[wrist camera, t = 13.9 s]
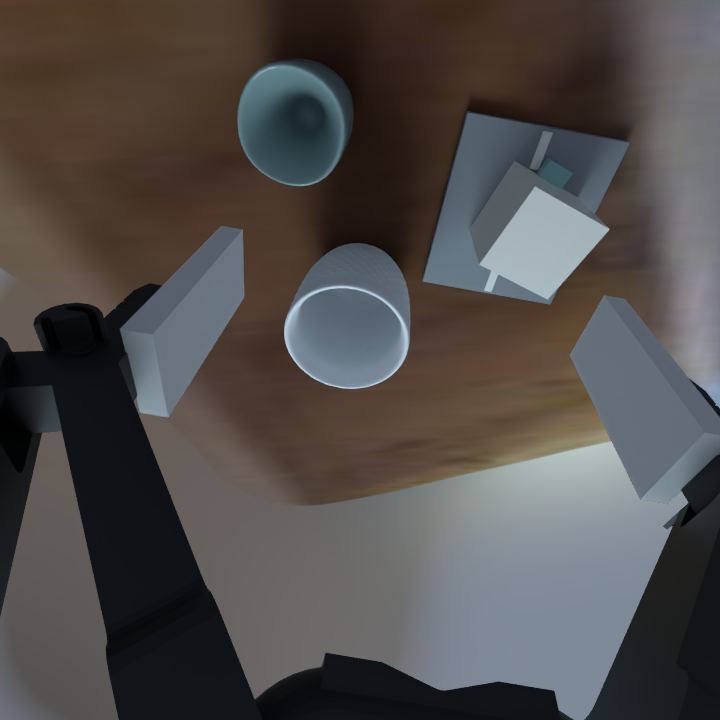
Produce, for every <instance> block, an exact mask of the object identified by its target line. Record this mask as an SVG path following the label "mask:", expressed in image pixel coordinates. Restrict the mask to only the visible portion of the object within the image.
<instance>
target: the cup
mask: <svg viewBox="0 0 720 720" xmlns="http://www.w3.org/2000/svg"><path fill="white" fill-rule="evenodd" d="M353 123H354V106H353V99H352V96H351V93H350V90H349V88H348V87H347V85H346V83H345V82H344V80H343V79H342V78H341V77H340V76H339V75H338V74H337V73H336V72H335V71H333V70H332V69H331V68H330V67H328V66H326V65H324V64H322V63H320V62H317V61H313V60H310V59H302V58H291V59H285V60H279V61H274V62H271V63H269V64H267V65H265V66H263V67H261V68H259V69H258V70H257V71H256V72H255V73H254V74H253V75H252V76H251V77H250V79H249V80H248V82H247V83H246V85H245V87H244V89H243V92H242V94H241V97H240V101H239V106H238V117H237V124H238V134H239V137H240V141H241V145H242V147H243V149H244V151H245V153H246V155H247V157H248V158H249V160H250V161H251V162H252V164H253V165H254V166H255V167H256V168H257V169H259V170H260V171H261V172H262V173H263V174H265V175H266V176H268V177H269V178H271V179H273V180H276V181H278V182H280V183H283V184H287V185H292V186H307V185H312V184H314V183H317V182H320V181H321V180H322V179H324V178H325V177H327V176H328V175H329V174H330V173H331V171H332V170H333V169H334V168H335V167H336V165H337V164H338V162H339V160H340V158H341V157H342V155H343V153H344V151H345V149H346V147H347V145H348V142H349V139H350V137H351V133H352V128H353Z"/></svg>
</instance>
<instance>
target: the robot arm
mask: <svg viewBox="0 0 720 720" xmlns="http://www.w3.org/2000/svg"><path fill="white" fill-rule="evenodd" d="M243 298H244V265H243V230H241V229H236V228H230V227H225V226H221V227H220V228H219V229H218V230H217V231H216V232H215V233H214V234H213V235H212V236H211V237H210V238H209V239H208V240H207V241H206V242H205V243H204V244H203V245H202V246H201V247H200V248H199V249H198V250H197V251H196V252H195V253H194V254H193V255H192V256H191V257H190V258H189V259H188V260H187V261H186V262H185V263H184V264H183V265H182V266H181V267H180V268H179V269H178V270H177V271H176V272H175V273H174V274H173V275H172V276H171V277H170V278H169V279H168V281H167V282H166V283H165V284H164V285H163V286H161V285H156V284H150V283H149V284H147V285H145V286H143V287H140V288H138V289H136V290H134V291H133V292H132V293H131V294H130V295H129V296H127V297H126V298H125V299H124V302H121V303H120V304H119V305H118V306H117V307H116V309H113V310H112V311H111V312H110V313H109V314H108V315H107V316H106V317H105V318H103V314H102V312H101V311H100V310H99V309H98V308H97V307H95V306H92V305H90V304H82V303H70V304H62V305H58V306H54V307H51V308H49V309H47V310H45V311H43V312H41V313H40V314H39V315H38V316H37V317H36V318H35V321H34V327H35V330H36V333H37V335H38V338H39V340H40V343H41V345H42V348H43V350H44V351H30V352H29V351H26V352H12V351H11V349H10V347H9V345H8V343H7V342H6V341H5V340H4V339H3V338H2V337H0V614H1V611H2V606H3V602H4V597H5V593H6V588H7V584H8V580H9V575H10V571H11V567H12V562H13V558H14V553H15V549H16V545H17V540H18V536H19V531H20V527H21V523H22V518H23V514H24V509H25V505H26V501H27V496H28V492H29V487H30V483H31V479H32V474H33V470H34V465H35V461H36V457H37V452H38V448H39V443H40V439H41V435H42V433H43V432H56V431H62V433H63V438H64V442H65V447H66V451H67V456H68V460H69V465H70V470H71V474H72V479H73V483H74V488H75V492H76V497H77V501H78V506H79V510H80V515H81V519H82V523H83V528H84V533H85V537H86V542H87V547H88V551H89V556H90V560H91V564H92V570H93V574H94V578H95V583H96V588H97V592H98V597H99V600H100V606H101V610H102V615H103V619H104V624H105V628H106V634H107V646H106V657H107V664H108V670H109V676H110V680H111V685H112V689H113V694H114V699H115V704H116V709H117V713H118V718H119V720H573V719H572V718H570V717H568V716H567V715H565V714H564V713H562V712H561V711H559V710H558V705H557V701H556V696H555V692H554V691H552V690H546V689H539V688H534V687H528V686H522V685H516V684H510V683H504V682H494V683H488V684H482V685H476V686H470V687H464V688H459V689H453V690H446V691H443V690H438V689H435V688H433V687H431V686H429V685H427V684H425V683H423V682H421V681H419V680H417V679H415V678H413V677H411V676H409V675H407V674H405V673H403V672H401V671H399V670H397V669H395V668H393V667H391V666H389V665H386V664H384V663H382V662H378V661H371V660H366V659H360V658H354V657H348V656H341V655H336V654H330V653H326V654H325V657H324V660H323V664H322V667H319V668H313V669H308V670H304V671H302V672H299V673H295V674H293V675H291V676H289V677H287V678H285V679H283V680H280V681H279V682H277V683H276V684H274V685H273V686H271V687H270V688H268V689H267V690H266V691H264V692H263V693H262V694H261V695H260V696H259V697H257V698H256V699H254V697H253V694H252V692H251V689H250V687H249V684H248V682H247V679H246V677H245V674H244V672H243V669H242V667H241V664H240V662H239V659H238V657H237V654H236V651H235V649H234V647H233V644H232V642H231V639H230V636H229V634H228V631H227V629H226V627H225V624H224V621H223V619H222V616H221V614H220V611H219V609H218V607H217V604H216V602H215V599H214V597H213V595H212V594H211V592H210V591H209V590H208V589H207V587H206V585H205V583H204V580H203V578H202V576H201V573H200V571H199V568H198V565H197V563H196V560H195V558H194V555H193V553H192V550H191V547H190V545H189V542H188V540H187V537H186V535H185V532H184V529H183V527H182V524H181V522H180V520H179V517H178V514H177V512H176V509H175V507H174V504H173V501H172V499H171V496H170V494H169V491H168V489H167V486H166V484H165V481H164V478H163V476H162V473H161V471H160V468H159V466H158V463H157V461H156V458H155V455H154V453H153V450H152V448H151V445H150V443H149V440H148V437H147V435H146V432H145V430H144V427H143V425H142V422H141V420H140V417H139V414H138V412H137V409H136V407H135V405H134V402H133V401H134V400H135V398H136V397H137V402H138V406H139V410H140V412H141V413H146V414H152V415H157V416H163V417H169V415H170V414H171V412H172V411H173V409H174V408H175V406H176V404H177V403H178V401H179V400H180V398H181V396H182V395H183V393H184V392H185V390H186V389H187V387H188V385H189V384H190V382H191V381H192V379H193V377H194V376H195V374H196V373H197V371H198V370H199V368H200V366H201V365H202V363H203V362H204V360H205V358H206V357H207V355H208V354H209V352H210V351H211V349H212V347H213V346H214V344H215V343H216V341H217V339H218V338H219V336H220V335H221V333H222V332H223V330H224V328H225V327H226V325H227V324H228V322H229V320H230V319H231V317H232V316H233V314H234V313H235V311H236V309H237V308H238V306H239V305H240V303H241V301H242V300H243ZM570 357H571V359H572V361H573V363H574V365H575V367H576V369H577V372H578V374H579V376H580V378H581V380H582V382H583V384H584V386H585V388H586V390H587V392H588V394H589V396H590V398H591V400H592V402H593V404H594V406H595V408H596V410H597V412H598V414H599V416H600V418H601V421H602V423H603V425H604V427H605V429H606V431H607V433H608V435H609V437H610V439H611V441H612V443H613V445H614V447H615V449H616V451H617V453H618V455H619V457H620V459H621V461H622V463H623V465H624V467H625V469H626V471H627V474H628V476H629V478H630V480H631V482H632V484H633V486H634V488H635V490H636V492H637V494H638V496H639V498H640V499H641V500H646V501H652V502H658V503H663V504H668V503H669V502H670V501H671V500H672V499H673V498H674V497H675V496H677V494H679V493H680V491H682V492H683V494H684V496H685V497H686V499H687V501H688V502H689V503H688V504H687V505H686V506H685V507H684V508H682V509H681V510H680V511H679V512H678V513H677V514H676V515H675V516H674V517H673V518H672V519H670V520H669V521H668V522H667V523H666V524H665V525H664V526H663V527H665V528H666V529H668V528H669V527H671V526H673V527H672V530H671V532H670V534H669V537H668V539H667V541H666V544H665V546H664V548H663V550H662V553H661V555H660V557H659V559H658V562H657V564H656V566H655V569H654V571H653V573H652V575H651V578H650V580H649V582H648V584H647V587H646V589H645V591H644V594H643V596H642V598H641V600H640V603H639V605H638V607H637V610H636V612H635V614H634V617H633V619H632V621H631V623H630V626H629V628H628V630H627V633H626V635H625V637H624V640H623V642H622V644H621V646H620V648H619V651H618V653H617V655H616V658H615V660H614V662H613V665H612V667H611V669H610V671H609V674H608V676H607V678H606V681H605V683H604V685H603V688H602V689H601V692H600V694H599V696H598V699H597V701H596V703H595V705H594V707H593V709H592V711H591V712H590V714H589V715H588V716H587V718H586V719H585V720H720V408H719V407H718V406H715V404H716V403H715V402H714V401H713V400H712V399H711V397H710V396H709V395H708V394H707V392H706V391H705V390H703V389H702V388H701V387H699V386H698V385H697V384H696V383H694V382H693V381H692V380H691V379H689V378H688V377H687V376H686V375H685V373H684V372H683V371H682V370H681V368H680V367H679V366H678V365H677V363H676V362H675V361H674V360H673V358H672V357H671V356H670V355H669V353H668V352H667V351H666V350H665V348H664V347H663V346H662V345H661V343H660V342H659V341H658V340H657V338H656V337H655V336H654V335H653V333H652V332H651V331H650V330H649V328H648V327H647V326H646V325H645V324H644V322H643V321H642V320H641V319H640V317H639V316H638V315H637V314H636V312H635V311H634V310H633V309H632V307H631V306H630V305H629V304H628V302H627V301H626V300H625V299H621V298H616V297H610V296H605V295H604V297H603V298H602V300H601V302H600V304H599V305H598V307H597V309H596V310H595V312H594V314H593V316H592V317H591V319H590V321H589V323H588V324H587V326H586V328H585V330H584V331H583V333H582V335H581V336H580V338H579V340H578V342H577V343H576V345H575V347H574V349H573V350H572V352H571V354H570Z"/></svg>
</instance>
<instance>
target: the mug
mask: <svg viewBox="0 0 720 720" xmlns="http://www.w3.org/2000/svg"><path fill="white" fill-rule="evenodd" d="M284 337H285V342H286V346H287V348H288V351H289V353H290V355H291V356H292V358H293V359H294V361H295V362H296V363H297V365H298V366H299V367H300V368H301V369H302V370H303V371H304V372H306V373H307V374H308V375H309V376H311V377H312V378H314V379H316V380H318V381H320V382H322V383H324V384H327V385H331V386H335V387H340V388H363V387H368V386H372V385H375V384H378V383H380V382H382V381H384V380H385V379H387V378H388V377H390V376H391V375H392V374H394V373H395V372H396V370H397V369H398V368H399V367H400V366H401V364H402V363H403V361H404V359H405V357H406V354H407V351H408V347H409V338H410V305H409V296H408V289H407V287H406V282H405V280H404V277H403V275H402V273H401V270H400V269H399V267H398V266H397V264H396V263H395V262H394V261H393V259H392V258H391V257H390V256H389V255H388V254H387V253H385V252H383V251H382V250H381V249H379V248H376V247H375V246H372V245H368V244H361V243H350V244H345V245H342V246H340V247H337V248H335V249H332V250H331V251H330V252H329V253H326V254H325V255H324V256H323V257H321V258H320V259H319V261H318V262H316V263H315V265H314V266H313V267H312V268H311V269H310V271H309V273H308V274H307V275H306V276H305V279H304V280H303V281H302V283H301V286H300V287H299V288H298V292H297V294H296V295H295V298H294V301H293V302H292V304H291V308H290V310H289V312H288V314H287V317H286V321H285V327H284Z"/></svg>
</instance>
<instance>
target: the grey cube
mask: <svg viewBox="0 0 720 720" xmlns="http://www.w3.org/2000/svg"><path fill="white" fill-rule="evenodd" d="M572 174H573V173H572V172H571V171H570V170H568V169H567V168H565V167H563V166H562V165H560V164H558V163H557V162H555V161H553V160H552V159H550V158H548V157H547V158H546V159H545V160H544V162H543V163H542V165H541V166H540V168H539V170H537V172H536V173H535V172H533V171H531V170H529V169H528V168H526V167H524V166H523V165H521V164H519V163H517V162H516V161H514V162H513V164H512V165H511V167H510V168H509V170H508V171H507V173H506V174H505V176H504V177H503V179H502V180H501V182H500V183H499V185H498V186H497V188H496V189H495V191H494V192H493V194H492V195H491V197H490V198H489V200H488V201H487V203H486V204H485V206H484V207H483V209H482V211H481V212H480V214H479V215H478V217H477V218H476V220H475V221H474V223H473V224H472V226H471V227H470V229H469V231H470V235H471V238H472V242H473V245H474V248H475V252H476V255H477V259H478V262H479V265H481V266H483V267H485V268H487V269H489V270H491V271H493V272H495V273H497V274H499V275H501V276H502V277H504V278H506V279H508V280H510V281H512V282H514V283H516V284H518V285H520V286H522V287H524V288H526V289H528V290H530V291H532V292H534V293H536V294H538V295H540V296H541V297H543V298H545V299H547V300H548V299H549V298H550V296H551V295H552V294H553V293H554V292H555V291H556V290H557V288H558V287H559V286H560V285H561V284H562V283H563V282H564V281H565V279H566V278H567V277H568V276H569V275H570V274H571V273H572V271H573V270H574V269H575V268H576V267H577V266H578V265H579V264H580V262H581V261H582V260H583V259H584V258H585V257H586V256H587V254H588V253H589V252H590V251H591V250H592V249H593V248H594V247H595V245H596V244H597V243H598V242H599V241H600V240H601V239H602V237H603V236H604V235H605V234H606V233H607V232H608V231H609V230H610V229H609V228H608V227H607V226H606V225H605V224H604V223H603V222H602V221H601V220H600V219H599V218H598V217H597V216H596V215H595V214H594V213H593V212H592V211H591V210H590V209H589V208H588V207H587V206H586V205H585V204H584V203H583V202H582V201H581V200H580V199H579V198H578V197H576V196H574V195H573V194H571V193H569V192H567V191H566V190H564V189H562V188H563V186H564V185H565V184H566V182H567V181H568V180H569V178H570V177H571V176H572Z"/></svg>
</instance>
